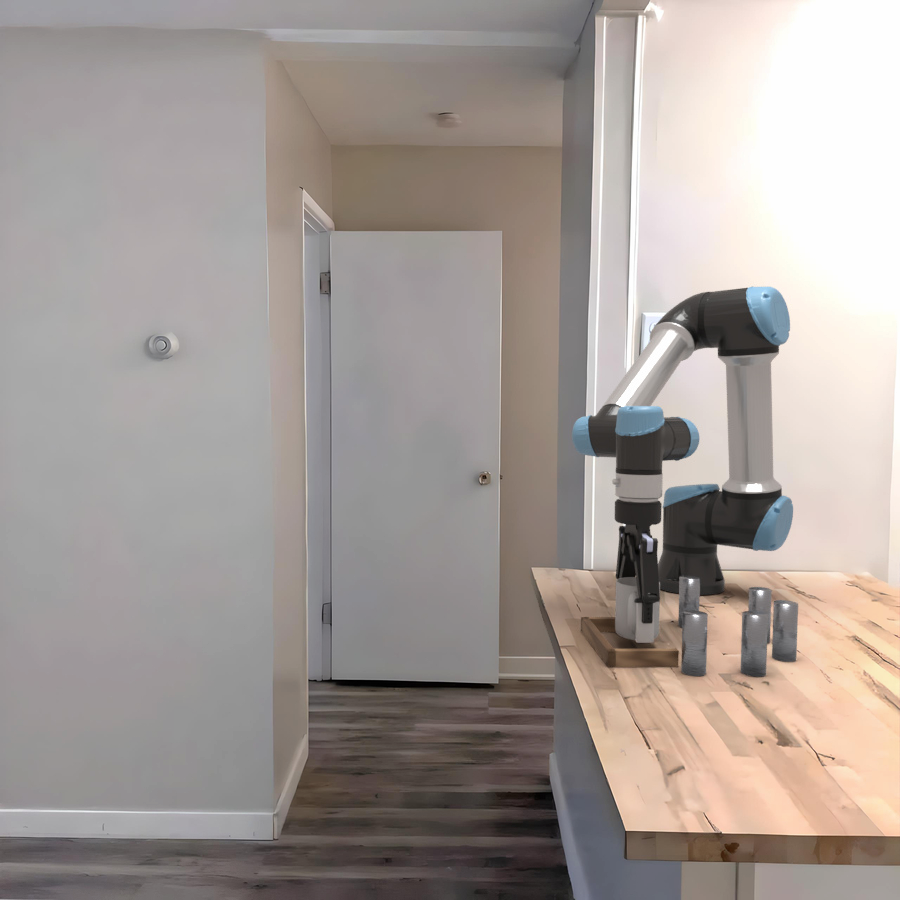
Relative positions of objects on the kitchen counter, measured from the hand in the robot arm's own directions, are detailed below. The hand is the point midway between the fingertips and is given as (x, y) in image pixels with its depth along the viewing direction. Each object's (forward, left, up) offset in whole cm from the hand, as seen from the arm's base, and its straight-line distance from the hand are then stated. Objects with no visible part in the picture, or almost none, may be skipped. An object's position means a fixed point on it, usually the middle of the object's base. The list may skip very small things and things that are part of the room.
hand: (635, 632), depth 126 cm
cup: (0, 0, -1) cm, 1 cm away
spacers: (-13, 0, -2) cm, 14 cm away
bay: (+2, 0, -2) cm, 3 cm away
